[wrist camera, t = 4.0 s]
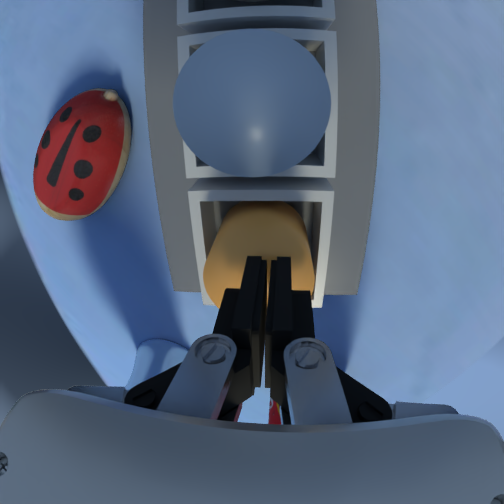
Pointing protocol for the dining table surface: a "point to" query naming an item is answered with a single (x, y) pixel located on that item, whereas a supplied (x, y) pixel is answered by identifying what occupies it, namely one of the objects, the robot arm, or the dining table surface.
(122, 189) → the dining table surface
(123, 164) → the ladybug figurine
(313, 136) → the button slate
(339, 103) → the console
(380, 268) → the dining table surface
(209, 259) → the button orange
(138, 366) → the chrome tumbler cup
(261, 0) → the button cream
